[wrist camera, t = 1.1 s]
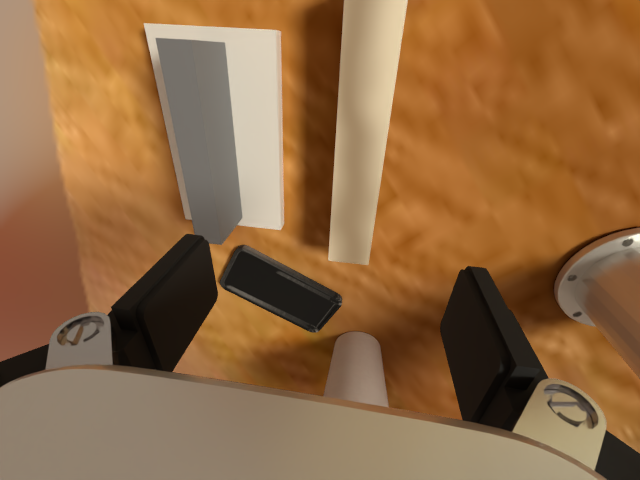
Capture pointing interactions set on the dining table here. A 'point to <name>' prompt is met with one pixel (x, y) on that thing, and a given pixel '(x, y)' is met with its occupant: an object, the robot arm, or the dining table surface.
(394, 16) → the beam
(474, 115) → the dining table surface
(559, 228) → the dining table surface
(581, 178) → the dining table surface
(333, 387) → the coffee cup
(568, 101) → the dining table surface
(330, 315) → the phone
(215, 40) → the ridge stand
